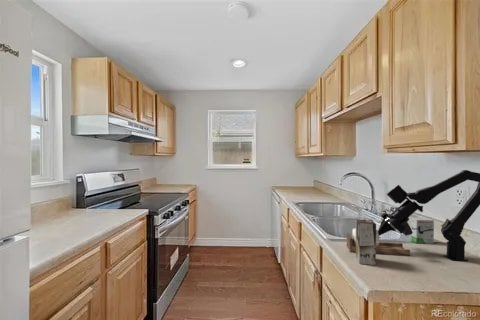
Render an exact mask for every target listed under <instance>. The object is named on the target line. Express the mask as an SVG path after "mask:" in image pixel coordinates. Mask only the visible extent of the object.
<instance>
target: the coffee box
mask: <svg viewBox="0 0 480 320" xmlns="http://www.w3.org/2000/svg"><path fill="white" fill-rule="evenodd" d="M355 229H356V252H355V259H356V260H357V262H358V264H361V265H369V266H370V265H372V266H373V265H374V266H376V263H377V261H376V258H377V256H376V255H377V254H376V230H377V223H375V222H374V221H373V220H372V219H355Z"/></svg>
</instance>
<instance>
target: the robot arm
mask: <svg viewBox="0 0 480 320" xmlns="http://www.w3.org/2000/svg"><path fill="white" fill-rule="evenodd" d="M466 181H471V182H477V186H476V189H475V190H474V192H473V193H472V195H470V197H469V198H468V199H467V201H466V202H465V203H464V205H463V206H462V207H461V208H460V210H459V211H458V212H457V213H456V215H455V216H454V217H453V218H452V219H449V218H446V219H445V221H444V223H443V224H441V225H440V227H441V229H440V232H441V235H442V236H443V237H444V239H445V240H447V242H446V254H442V256H443V257H445V258H447V259H449V260H451V261H455V262H456V261H459V262H461V261H462V262H463V261H469V259H468V258H466V257H465V253H466V251H465V246H466V244H467V242H466V241H465V238H464V237H462V235H461V234H462V232H463V231H464V227H465V225H466V223H467V222H468V221H469V219H470V218H471V217H472V216H473V214H474V213H475V212H476V210H478V208H479V206H480V172H476V171H472V170H469V169H463V170H461V171H460V172H458V173H456V174H454V175H452V176H450V177H448V178H446V179H444V180H442V181H440V182H438V183H436V184H434V185H432V186H427V187H423V188H421V189H417V190H416V191H415V192H406V191H405V189H403V188H402V187H401V185H400V184H398V185H396V186H395V187H393V188H392V189H391V190H389V191H388V192H387V193H386V196H387V197H389V199H391V200H392V201H393V203H395V204H399V206H398V207H395V208H394V211H392V212H391V213H388V212H382V213H381V214H380V217H381V218H382V219H381V222H380V225H379V226H378V229H377V231H378V234H379V237H380V236H381V235H384V234H386V233H388V232H390V231H391V232H397V231H398V233H400V235H401V234H403V235H404V236H406V237H407V236H410V235H412V233H413V232H412V227H410V224H409V222H408V221H410V217H411V216H412V215H413V214H414V213H415V212H417V211H418V212H420V213H423V212H424V209H423V208H424V205H425V204H428V203H430V202H431V201H432V200H434V198H436V197H437V196H439V195H440V194H442V193H443V192H445V191H448V190H450V189H452V188H454V187H457V186H458V185H460V184H462V183H465V182H466ZM412 200H413V201H412ZM400 204H401V205H400Z"/></svg>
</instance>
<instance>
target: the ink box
mask: <svg viewBox="0 0 480 320" xmlns="http://www.w3.org/2000/svg"><path fill="white" fill-rule="evenodd" d="M434 229H435V221H434V219H432V218H429V217H412V218H411V230H412V232H413V233H412V234H411V242H412V243H415V244H424V245H426V244H430V245H432V244H433V245H434V239H435V237H434V234H435V233H434V231H435V230H434Z"/></svg>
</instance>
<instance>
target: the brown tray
mask: <svg viewBox="0 0 480 320" xmlns="http://www.w3.org/2000/svg"><path fill="white" fill-rule="evenodd" d="M346 247H347V249H348V251H349V253H356V246H353V240H352V234H350V232H346ZM376 255H388V256H402V257H403V256H404V257H406V256H407V257H410V256H411V250H410V249H407V248H404V245H403V243H401V242H388V241H387V242H385V241H379V246H378V248H376Z"/></svg>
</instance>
